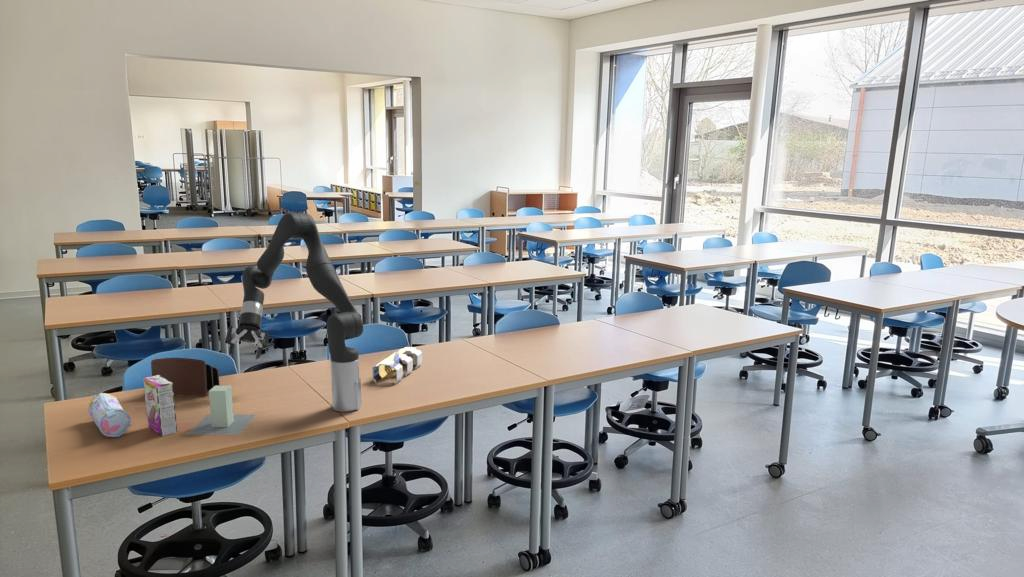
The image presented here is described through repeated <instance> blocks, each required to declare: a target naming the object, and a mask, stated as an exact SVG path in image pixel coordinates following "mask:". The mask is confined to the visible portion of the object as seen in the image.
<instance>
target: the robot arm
mask: <svg viewBox="0 0 1024 577" xmlns="http://www.w3.org/2000/svg"><path fill="white" fill-rule="evenodd" d="M273 232H274V233H273V234H272V238H271V239H270V242H269V244H268V246H267V247H266V248H265V250H264V251H263V253H262V254H261V256H260V257H259V258H258V260H257V262H256V266H252V265H249V266H247V267H244V268H245V269H244V270H243V272H242V274H241V279H242V281H241V282H242V287H243V300H242V304H241V305H242V306H241V308H240V312H239V320H238V324H237V327H236V328H235V327H233V325H230V326H228V328H227V332H226V336H225V340H224V343H225V344H226V345H227V344H228V345H229V349H228V354H229V356H232V357H233V355H234V351H235V347H236V346H235V345H236V344H237V343H239V342H240V341H241V342H243V343H244V342H245V343H253V344H254V346H255V348H257V349H256V353H255V360H259V359H260V358H261V356H262V351H263V350H267V348H268V346H269V337H270V336H269V335H270V334H269V332H268V331H266V332H262V331H261V325H262V320H263V310H264V309H263V308H264V301H265V293H264V292H263V291H262V289H267V288H269V287H270V286H271V284H272V280H273V276H274V274H275V272H276V270H277V269H278V268H279V266H280V264H282V262H283V260H284V257H285V248H284V245H285V244H286V242H288V241H289V240H290V239H292V240H295V239H296V240H297V239H298V240H299V239H300V240H301V239H302V240H303V241H304V243H305V245H306V248H307V252H308V254H307V259H306V264H305V271H306V274H307V275H306V276H307V277H308V279H309V282H310V283H311V286H312V287H313V289H314V290H315V291H316V292H317V293H319V294H320V295H321V296H322V297H324V298H325V299H326V300H328V301H329V302H331V303H332V304H333V305H334V307H335V308H336V309H337V310H338V312H339V313H337V312H336V313H333V314H331V315H329V316H328V318H327V321H326V336H327V346H328V348H327V349H328V352H329V356H330V376H331V380H330V381H331V399H332V400H331V403H332V404H331V405H332V410H334V411H336V412H353V411H358V410H359V409H360V407H361V406H362V380H361V377H360V362H359V351H358V349H356V348H355V347H350V346H347V345H346V341H347V340H351V339H356V338H359V337H361V335H362V334H363V333H364V322H363V320H362V318H361V315H360V313H359V312H358V310H357V308H356V306H355V304H354V303H353V302H352V300H351V299H350V297H349V295H348V293H347V291H346V290H345V288H344V285H343V284H342V282H341V279H340V277H339V275H338V272H337V271H336V269H335V266H334V264H333V262H332V260H331V258H330V257H329V255H328V253H327V251H326V248H325V245H324V243H323V241H322V240H323V239H322V238H321V234H320V232H319V229H318V226H317V223H316V221H315V220H314V218H313V216H311V215H310V214H309V213H307V212H287V213H285V214H283V215H282V216H281V218H280V220H279V221H278V223H277V225H276V228H275V230H274V231H273ZM234 333H235V334H236V336H235V337H234V338H233V339H231V335H233V334H234ZM260 337H261V339H262V340H263V343H261V341H260Z"/></svg>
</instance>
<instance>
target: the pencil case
mask: <svg viewBox="0 0 1024 577" xmlns="http://www.w3.org/2000/svg"><path fill="white" fill-rule="evenodd" d="M87 409H88V410H87V412H88V415H89V417H90V418H91V420H93V422H94V424H95V425H96V427H97V428H98V429H99V431H100V432H101V434H102V435H103V436H105V437H108V438H109V437H110V438H120V437H122V436H123V435H124V434H125V433H126V432H127V431H128V430H129V429H130V426H131V423H132V417H131V416H130V414H129V412H127V411H126V410H124V409H123V406H122V405H121V404H120V402H119V400H118V398H117V397H116V396H114V395H113V394H110V393H105V392H99V393H98V394H94V396H93V397H92V398H91V400H90V402H89V404H88V408H87Z"/></svg>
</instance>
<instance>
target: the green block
mask: <svg viewBox="0 0 1024 577" xmlns="http://www.w3.org/2000/svg"><path fill="white" fill-rule="evenodd" d="M208 396H209V398H208V399H209V410H210V415H211V424H212V427H228V426H229V425H230V424H231V423H232V422H233V421H234V417H233V415H234V406H233V405H234V402H233V391H232V385H220V386H214V387H213V388H212V389H211V390H209V395H208Z"/></svg>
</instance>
